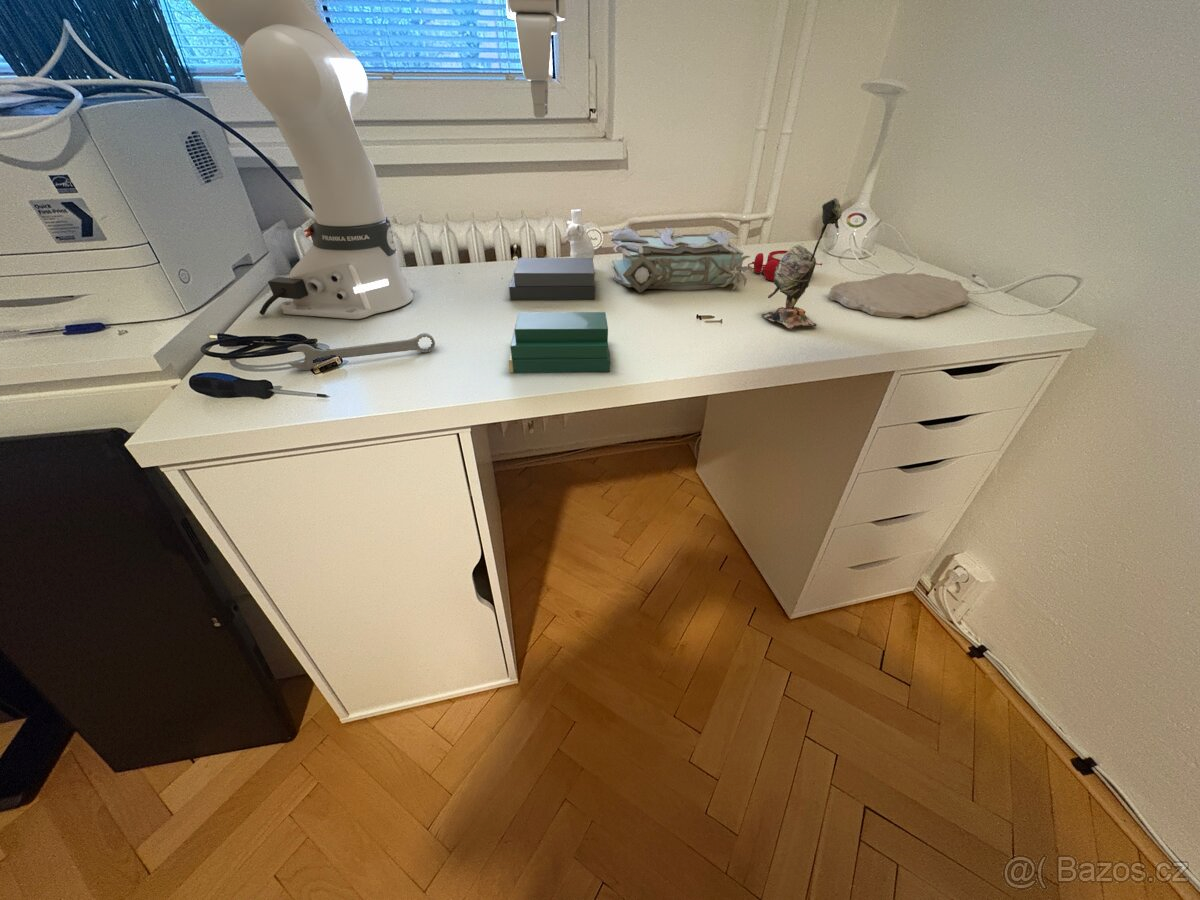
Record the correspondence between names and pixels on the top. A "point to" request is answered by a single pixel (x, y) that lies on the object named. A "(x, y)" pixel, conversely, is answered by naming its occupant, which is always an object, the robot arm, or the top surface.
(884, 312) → the stone tablet
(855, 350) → the top surface
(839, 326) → the top surface
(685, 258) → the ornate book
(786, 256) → the plant with pod
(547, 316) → the green book
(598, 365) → the green rectangular block
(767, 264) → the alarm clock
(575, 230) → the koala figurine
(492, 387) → the top surface
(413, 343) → the combination wrench
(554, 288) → the grey books
